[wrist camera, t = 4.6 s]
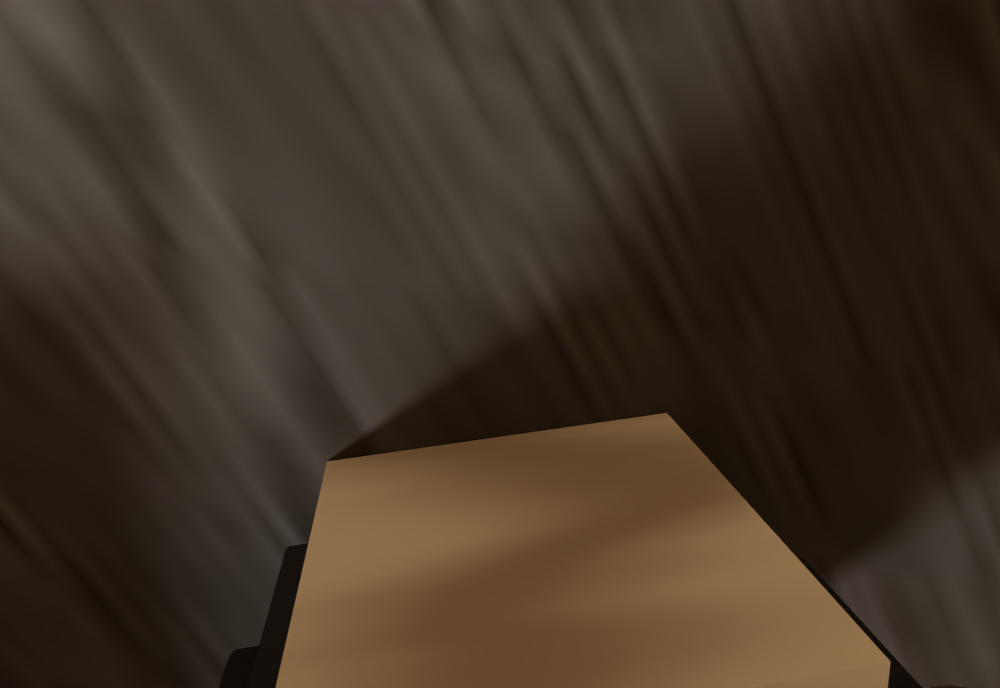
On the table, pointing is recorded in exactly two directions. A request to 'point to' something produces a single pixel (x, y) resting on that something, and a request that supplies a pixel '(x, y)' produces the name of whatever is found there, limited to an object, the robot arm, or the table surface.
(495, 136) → the table surface
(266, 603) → the table surface
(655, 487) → the cube
